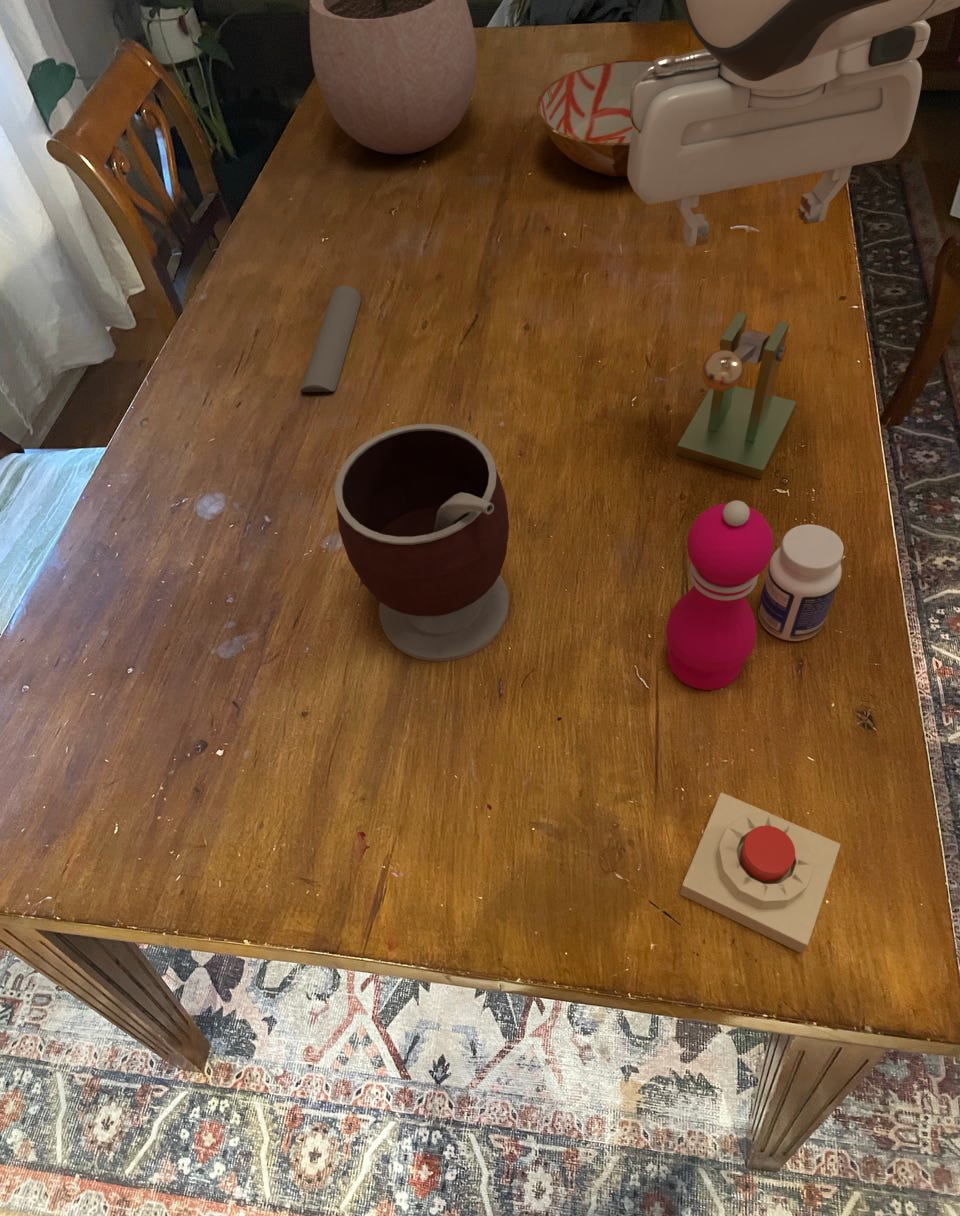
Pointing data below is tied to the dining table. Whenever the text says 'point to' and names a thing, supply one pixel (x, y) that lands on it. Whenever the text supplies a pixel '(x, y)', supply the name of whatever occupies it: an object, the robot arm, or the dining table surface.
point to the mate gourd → (428, 537)
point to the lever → (733, 361)
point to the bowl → (593, 114)
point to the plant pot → (394, 68)
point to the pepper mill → (718, 596)
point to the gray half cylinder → (332, 341)
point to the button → (767, 853)
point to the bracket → (741, 413)
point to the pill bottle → (801, 582)
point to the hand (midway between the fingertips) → (752, 230)
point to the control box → (751, 901)
